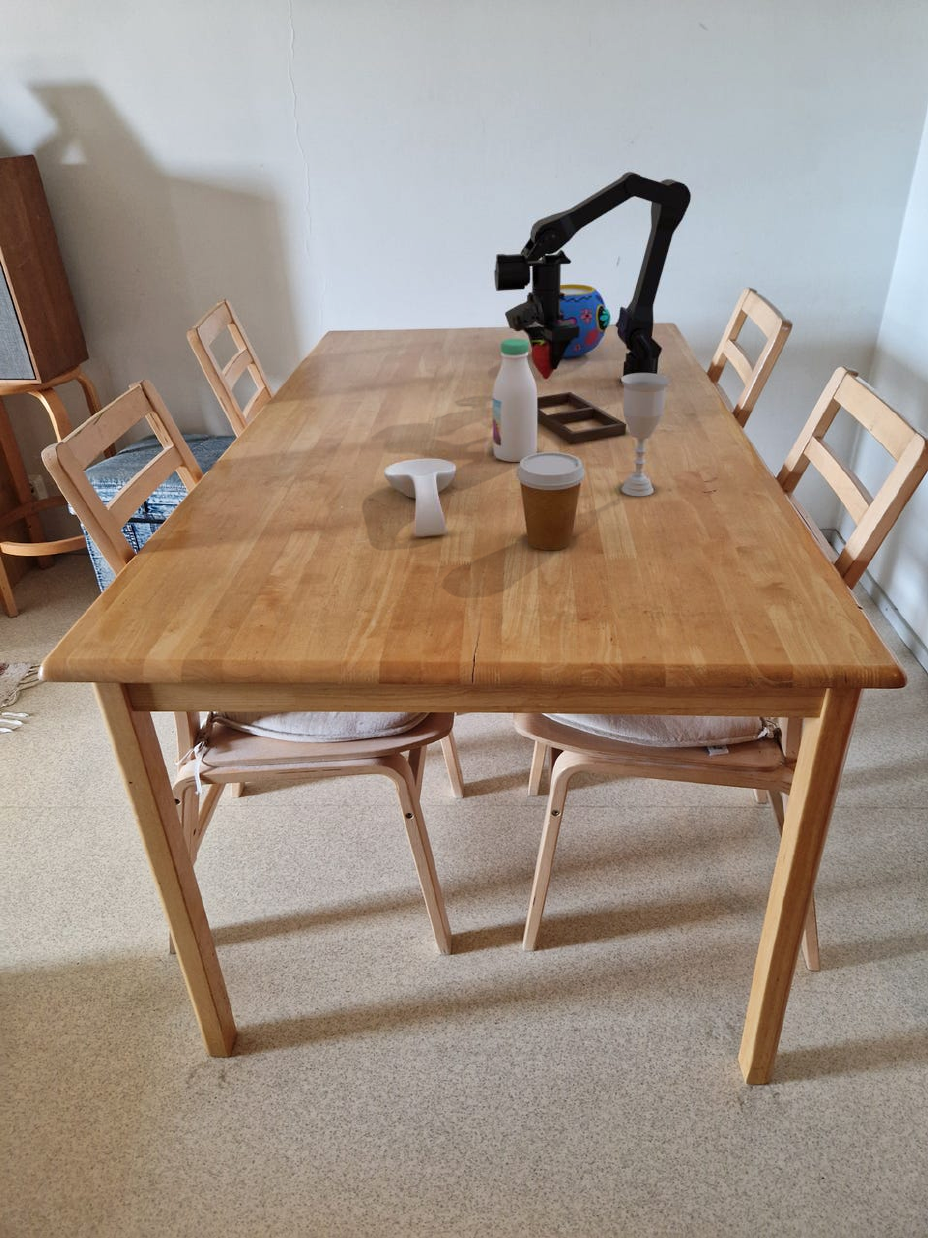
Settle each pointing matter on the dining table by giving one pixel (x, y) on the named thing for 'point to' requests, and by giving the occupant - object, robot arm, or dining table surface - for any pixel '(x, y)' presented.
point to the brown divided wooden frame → (577, 419)
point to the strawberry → (542, 358)
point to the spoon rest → (423, 490)
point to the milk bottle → (514, 404)
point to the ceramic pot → (584, 317)
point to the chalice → (642, 421)
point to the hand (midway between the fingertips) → (545, 364)
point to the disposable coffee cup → (550, 497)
